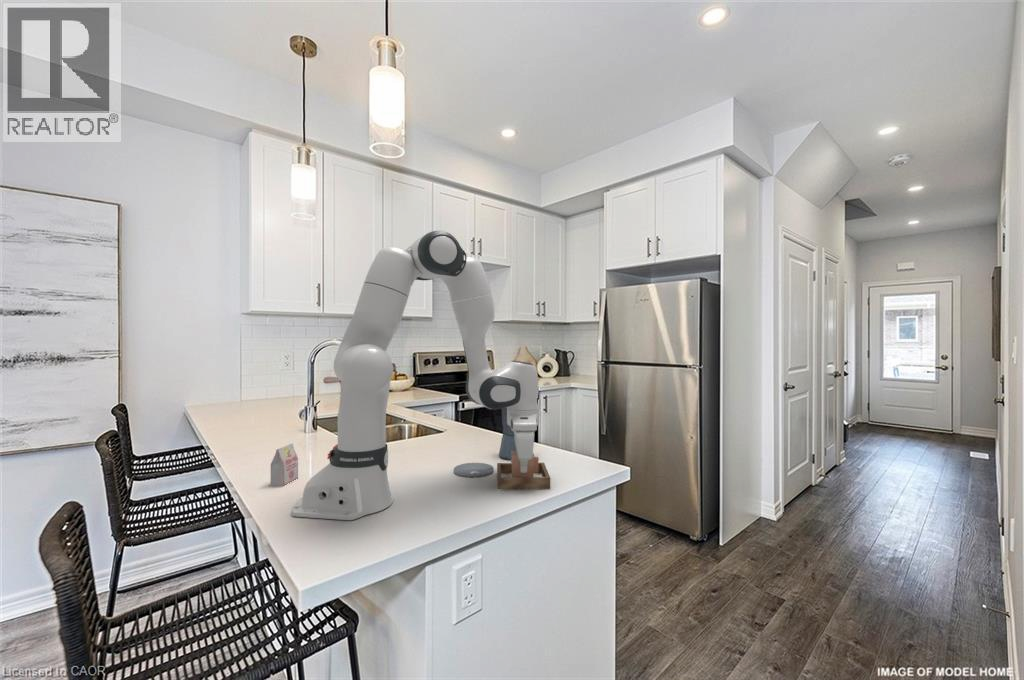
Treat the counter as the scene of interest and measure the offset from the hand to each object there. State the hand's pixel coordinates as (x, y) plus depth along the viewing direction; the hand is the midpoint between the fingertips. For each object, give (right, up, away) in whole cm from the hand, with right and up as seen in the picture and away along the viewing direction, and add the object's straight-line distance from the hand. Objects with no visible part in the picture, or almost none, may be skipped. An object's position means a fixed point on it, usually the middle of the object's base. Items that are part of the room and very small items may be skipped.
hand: (522, 467), depth 126 cm
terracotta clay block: (0, -4, 0) cm, 4 cm away
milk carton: (-66, -4, -2) cm, 66 cm away
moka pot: (-3, -4, +24) cm, 24 cm away
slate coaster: (-14, -4, +8) cm, 17 cm away
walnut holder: (0, -4, 0) cm, 4 cm away
